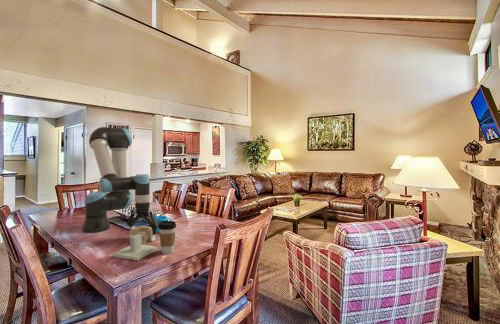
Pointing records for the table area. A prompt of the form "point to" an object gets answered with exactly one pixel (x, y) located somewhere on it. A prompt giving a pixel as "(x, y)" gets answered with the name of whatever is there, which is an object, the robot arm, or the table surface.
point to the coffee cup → (167, 236)
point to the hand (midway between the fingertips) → (142, 239)
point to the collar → (142, 233)
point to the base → (135, 254)
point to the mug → (161, 218)
